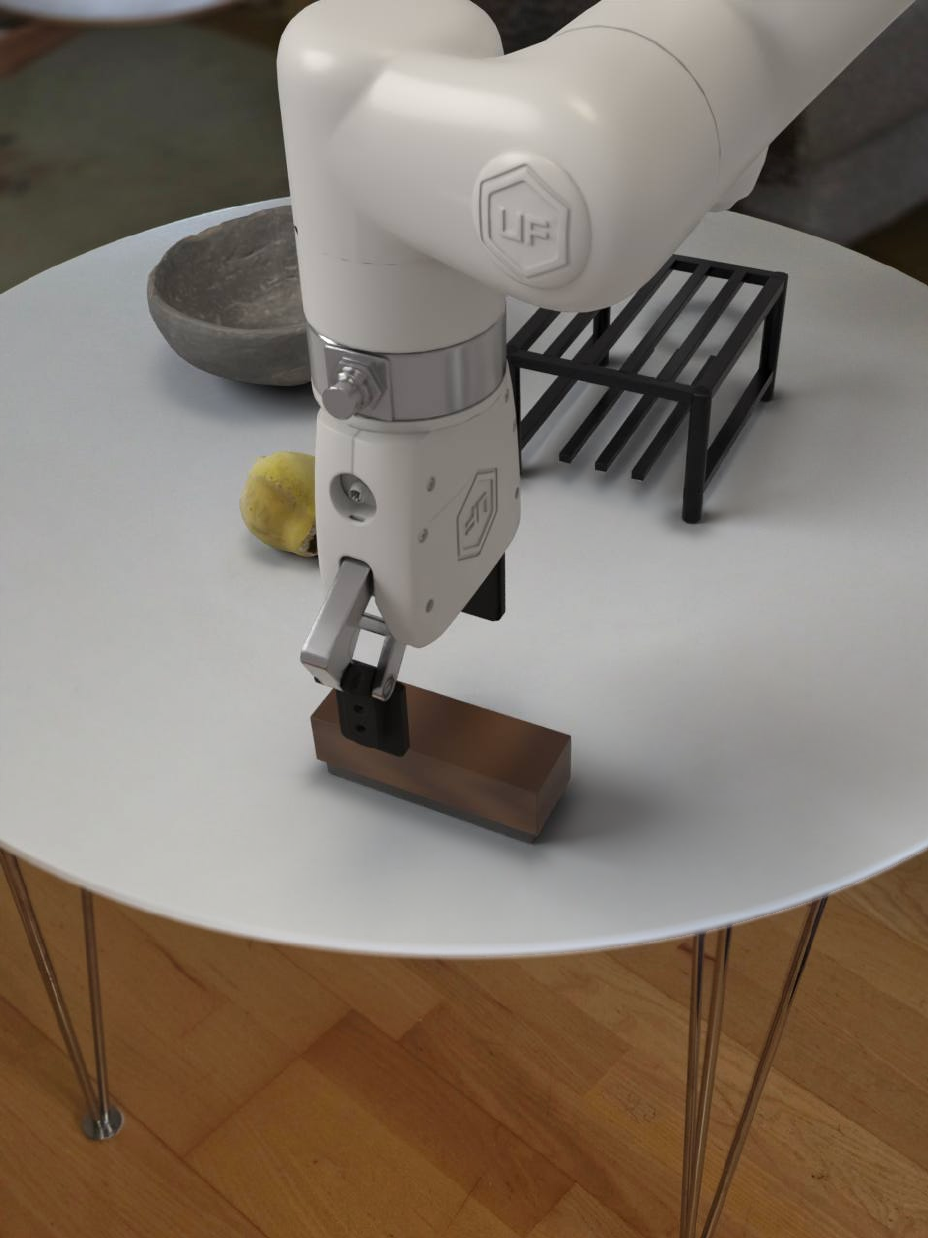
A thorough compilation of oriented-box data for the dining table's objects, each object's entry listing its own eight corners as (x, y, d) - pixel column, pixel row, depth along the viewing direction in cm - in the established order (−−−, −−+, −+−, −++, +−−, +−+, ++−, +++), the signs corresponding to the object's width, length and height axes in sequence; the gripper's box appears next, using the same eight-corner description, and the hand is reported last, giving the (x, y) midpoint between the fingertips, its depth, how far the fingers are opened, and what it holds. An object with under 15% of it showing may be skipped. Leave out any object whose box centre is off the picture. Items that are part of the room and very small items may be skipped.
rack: (775, 394, 93) (790, 272, 87) (697, 525, 83) (708, 397, 77) (595, 356, 98) (598, 239, 92) (499, 476, 87) (496, 352, 81)
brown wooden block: (570, 792, 67) (571, 735, 64) (537, 850, 64) (537, 793, 62) (358, 721, 71) (350, 665, 69) (318, 773, 68) (309, 716, 66)
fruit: (324, 607, 78) (206, 523, 82) (392, 579, 83) (277, 500, 87) (345, 521, 75) (222, 439, 79) (414, 497, 80) (294, 420, 84)
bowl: (201, 454, 91) (180, 347, 85) (137, 337, 103) (115, 238, 98) (449, 387, 96) (443, 282, 91) (359, 283, 108) (349, 185, 103)
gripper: (384, 494, 45) (411, 833, 56) (586, 267, 56) (574, 586, 68) (194, 441, 47) (256, 775, 59) (425, 235, 59) (439, 547, 70)
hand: (427, 673), depth 63 cm, fingers open, 9 cm apart
